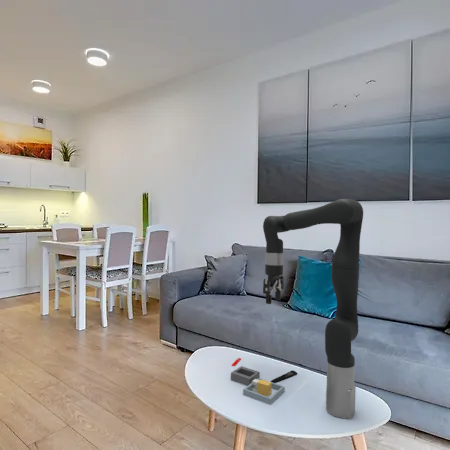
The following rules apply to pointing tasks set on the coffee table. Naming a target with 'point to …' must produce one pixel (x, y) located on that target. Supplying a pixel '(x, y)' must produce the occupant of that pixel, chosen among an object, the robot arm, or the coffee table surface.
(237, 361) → the swiss army knife
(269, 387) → the block
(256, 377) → the block
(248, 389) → the tray
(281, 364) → the coffee table surface
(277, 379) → the electric trimmer
